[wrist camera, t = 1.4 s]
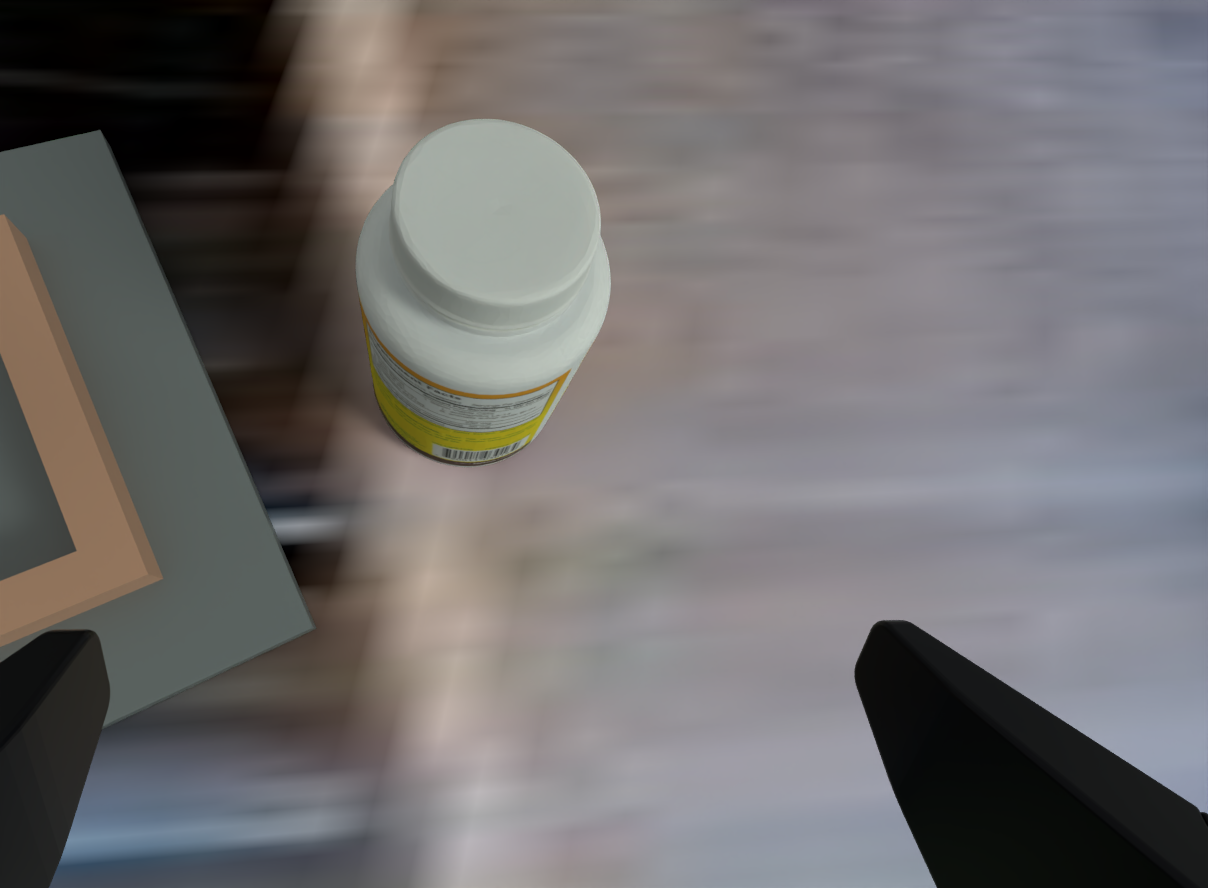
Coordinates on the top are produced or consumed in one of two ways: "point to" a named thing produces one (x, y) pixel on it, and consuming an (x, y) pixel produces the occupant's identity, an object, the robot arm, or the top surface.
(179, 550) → the dock
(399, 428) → the supplement bottle
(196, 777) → the top surface
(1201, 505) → the top surface
